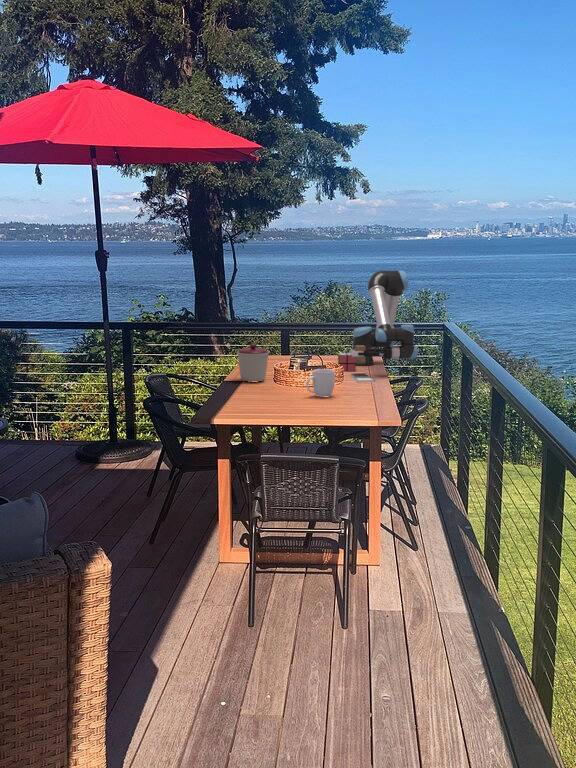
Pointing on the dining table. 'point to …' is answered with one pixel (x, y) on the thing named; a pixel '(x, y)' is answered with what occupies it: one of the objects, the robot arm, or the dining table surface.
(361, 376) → the ink pad
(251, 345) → the canister
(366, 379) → the print board
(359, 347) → the stamp
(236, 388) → the dining table surface
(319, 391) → the mug
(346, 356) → the puzzle cube
